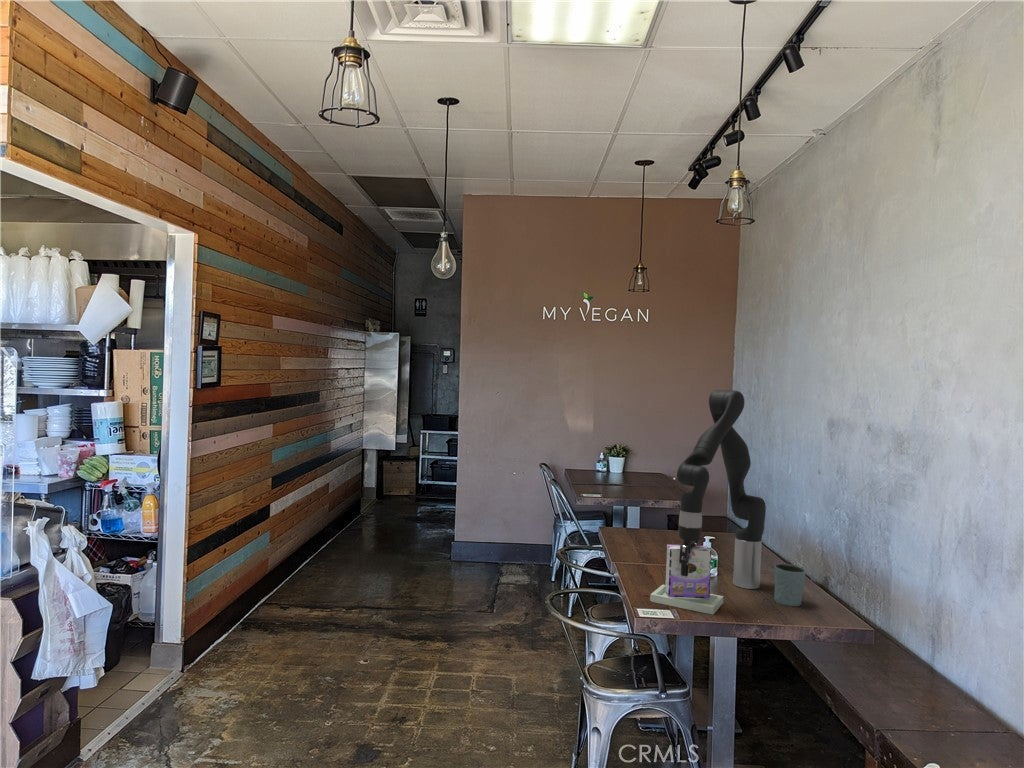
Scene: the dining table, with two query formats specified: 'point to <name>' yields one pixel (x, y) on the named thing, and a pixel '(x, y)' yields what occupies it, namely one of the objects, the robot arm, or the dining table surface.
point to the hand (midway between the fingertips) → (687, 572)
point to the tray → (688, 601)
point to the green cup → (788, 584)
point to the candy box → (697, 573)
